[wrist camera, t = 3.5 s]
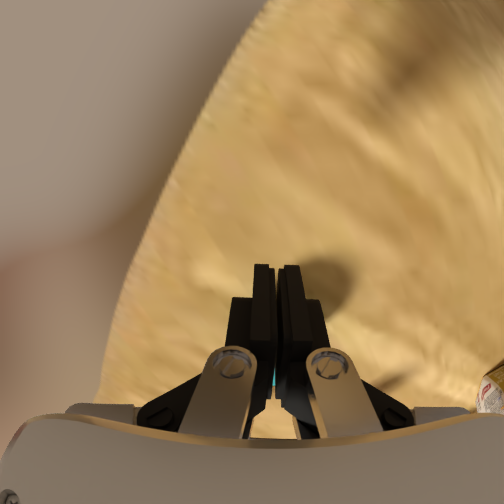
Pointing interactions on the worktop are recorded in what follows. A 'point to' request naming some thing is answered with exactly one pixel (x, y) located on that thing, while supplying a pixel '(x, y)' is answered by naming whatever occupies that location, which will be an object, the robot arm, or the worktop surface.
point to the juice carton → (491, 393)
